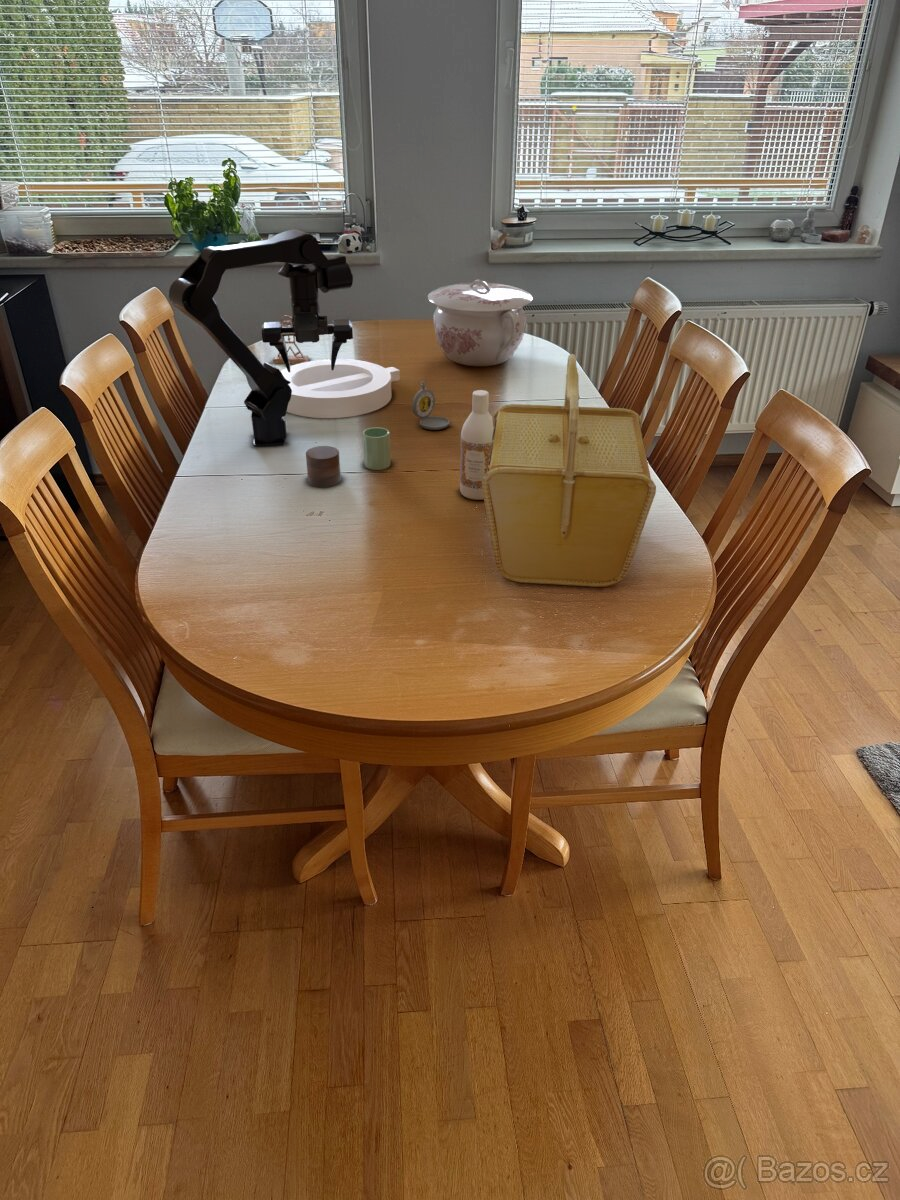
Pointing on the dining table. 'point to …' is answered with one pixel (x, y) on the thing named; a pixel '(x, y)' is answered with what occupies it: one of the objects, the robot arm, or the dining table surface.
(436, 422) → the pocket watch
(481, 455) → the bath foam
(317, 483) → the base chip
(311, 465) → the dark brown wooden disc
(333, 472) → the middle chip
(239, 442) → the dining table surface
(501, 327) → the chamber pot
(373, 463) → the plastic cup
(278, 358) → the gingerbread man figurine
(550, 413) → the picnic basket
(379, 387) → the ring with crossbar
